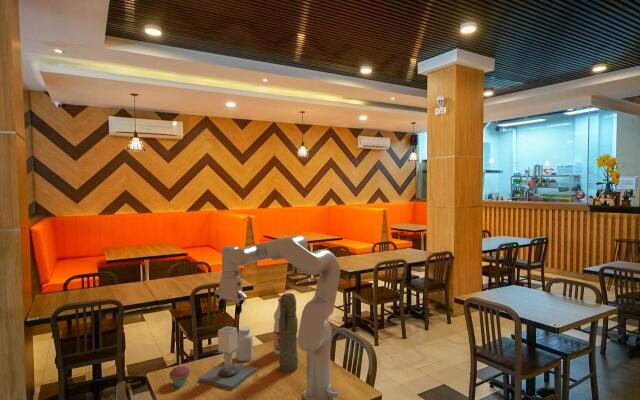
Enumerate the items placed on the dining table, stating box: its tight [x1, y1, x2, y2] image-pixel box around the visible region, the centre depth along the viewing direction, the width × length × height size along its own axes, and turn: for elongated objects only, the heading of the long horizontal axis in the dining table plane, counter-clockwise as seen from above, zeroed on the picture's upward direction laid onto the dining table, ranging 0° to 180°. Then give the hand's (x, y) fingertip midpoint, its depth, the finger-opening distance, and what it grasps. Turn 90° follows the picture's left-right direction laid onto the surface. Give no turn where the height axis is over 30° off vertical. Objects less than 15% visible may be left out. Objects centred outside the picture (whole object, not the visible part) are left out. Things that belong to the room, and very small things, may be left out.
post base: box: [198, 353, 257, 391], centre depth 176 cm, size 18×18×12 cm
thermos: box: [278, 292, 299, 373], centre depth 183 cm, size 9×12×35 cm
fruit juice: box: [273, 297, 281, 356], centre depth 200 cm, size 9×9×28 cm
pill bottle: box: [235, 326, 254, 362], centre depth 194 cm, size 8×8×15 cm
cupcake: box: [169, 354, 191, 387], centre depth 169 cm, size 9×8×12 cm
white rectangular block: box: [217, 325, 238, 355], centre depth 175 cm, size 6×6×10 cm
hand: (230, 311), depth 174 cm, fingers open, 9 cm apart
